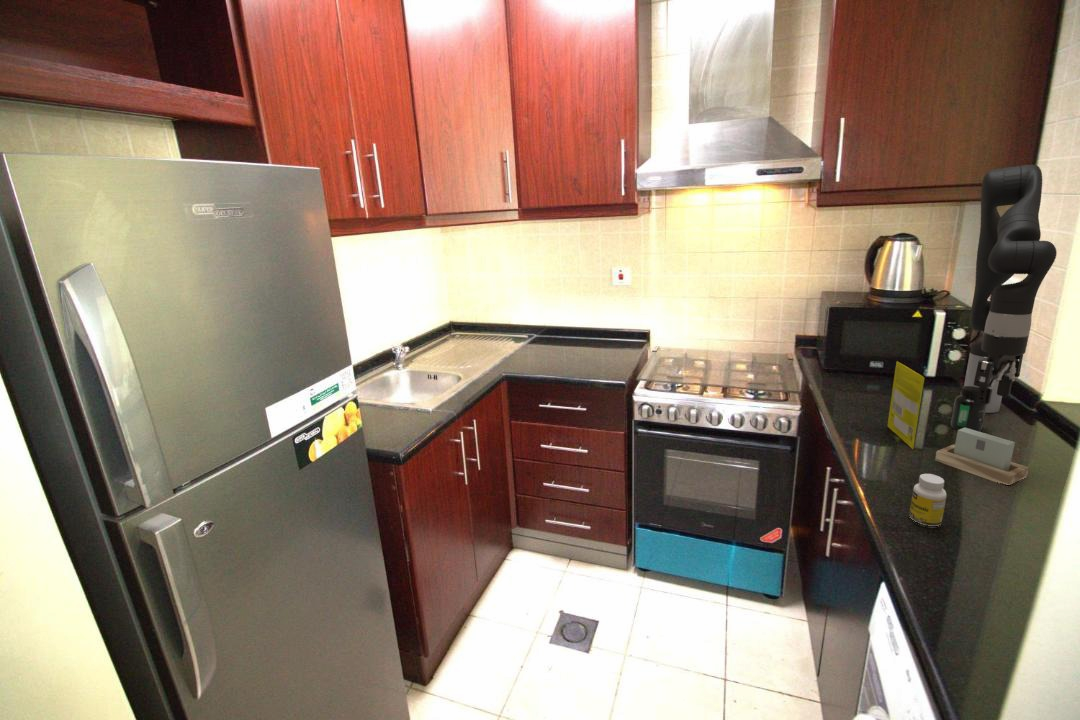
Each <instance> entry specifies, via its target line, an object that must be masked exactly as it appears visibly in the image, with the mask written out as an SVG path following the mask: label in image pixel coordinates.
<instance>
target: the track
mask: <svg viewBox="0 0 1080 720" xmlns="http://www.w3.org/2000/svg"><path fill="white" fill-rule="evenodd" d="M954 449H955V443H953V444H951V445H948V446H946V447H943V448H941V449H938V450H937V451H936V453H935V459H934V461H935V462H939V463H941V464H944V465H946V466H949V467H952V468H955V469H958V470H960V471H963V472H966V473H969V474H972V475H974V476H978V477H980V478H983V479H986V480H988V481H992V482H994V483H997V482H998V483H997V484H1000V483H1003V484H1006V485H1010V484H1013V483H1015V482H1017V481H1019V480H1021V479H1023V480H1025V479H1027V477H1028V473H1029V469H1030V467H1029V466H1025V465H1022V464H1020V463H1019V464H1018V463H1016V462H1013V461H1011V463H1010V468H1009V472H1006V471H1003V470H1000V469H998V468H995V467H992V466H989V465H986V464H983V463H980V462H977V461H974V460H971V459H968V458H965V457H962V456H959V455H956V454H954ZM1024 478H1025V479H1024ZM1021 481H1022V480H1021ZM1019 482H1020V481H1019ZM1017 483H1018V482H1017ZM1015 484H1016V483H1015ZM1013 485H1014V484H1013Z"/></svg>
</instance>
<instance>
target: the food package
mask: <svg viewBox="0 0 1080 720" xmlns="http://www.w3.org/2000/svg"><path fill="white" fill-rule="evenodd" d="M895 364H896V365H895V369H894V376H893V384H892V390H891V391H892V392H891V396H890V397H891V399H890V404H889V412H888V418H887V427H888V428H889V429H890V430H891V431H892V432H893V433H894V434H895V435H896V436H898V438H899V439H901V440H902V441H903V442H904V443H905V444H906V445H907V446H908V447H910V448H911V449H912V450H914V446H915V439H916V433H917V427H918V420H919V415H920V410H921V409H920V408H921V402H922V395H923V389H924V383H925V377H924V376H923V375H921V374H920V373H918V372H916V371H915V370H913V369H911V368H910V367H908V366H906V365H905V364H903V363H901V362H899V361H898V360H897V361H896V363H895Z"/></svg>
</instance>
